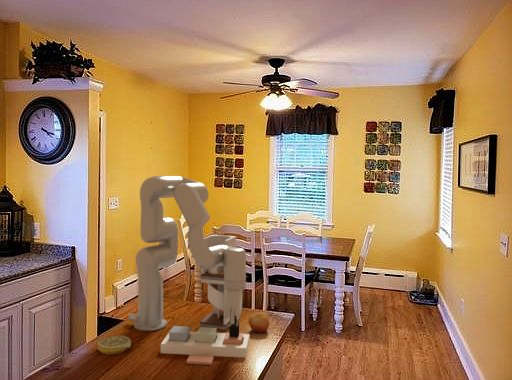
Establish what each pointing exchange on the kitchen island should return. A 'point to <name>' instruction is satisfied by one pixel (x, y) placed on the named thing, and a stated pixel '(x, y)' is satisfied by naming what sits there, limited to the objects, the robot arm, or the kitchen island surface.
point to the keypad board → (206, 346)
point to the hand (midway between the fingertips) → (234, 336)
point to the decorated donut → (114, 344)
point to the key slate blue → (179, 333)
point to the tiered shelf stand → (216, 286)
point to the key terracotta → (233, 339)
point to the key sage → (206, 335)
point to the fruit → (259, 322)
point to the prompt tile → (200, 359)
